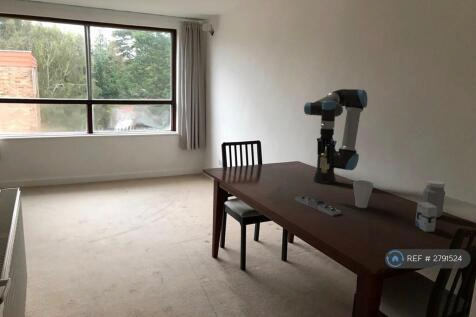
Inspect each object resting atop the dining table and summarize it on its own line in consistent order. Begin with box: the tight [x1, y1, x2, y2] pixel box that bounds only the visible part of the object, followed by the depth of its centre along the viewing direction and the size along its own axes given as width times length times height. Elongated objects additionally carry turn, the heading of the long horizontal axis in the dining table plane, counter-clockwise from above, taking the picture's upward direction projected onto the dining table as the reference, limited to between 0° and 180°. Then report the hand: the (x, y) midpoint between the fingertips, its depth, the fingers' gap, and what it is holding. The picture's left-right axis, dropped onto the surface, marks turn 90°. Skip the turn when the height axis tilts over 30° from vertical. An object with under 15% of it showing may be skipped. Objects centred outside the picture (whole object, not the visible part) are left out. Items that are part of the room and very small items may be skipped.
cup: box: [352, 180, 375, 209], centre depth 197 cm, size 10×10×14 cm
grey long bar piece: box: [294, 195, 342, 217], centre depth 195 cm, size 29×7×4 cm, turn 32°
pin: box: [321, 153, 327, 173], centre depth 207 cm, size 5×5×11 cm
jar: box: [421, 179, 446, 219], centre depth 185 cm, size 10×10×18 cm
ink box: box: [414, 201, 438, 233], centre depth 168 cm, size 8×5×12 cm, turn 5°
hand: (324, 168), depth 208 cm, fingers closed on pin, 3 cm apart
